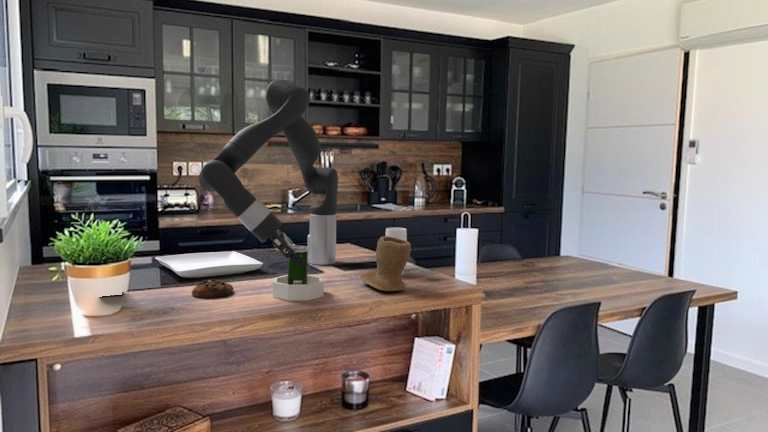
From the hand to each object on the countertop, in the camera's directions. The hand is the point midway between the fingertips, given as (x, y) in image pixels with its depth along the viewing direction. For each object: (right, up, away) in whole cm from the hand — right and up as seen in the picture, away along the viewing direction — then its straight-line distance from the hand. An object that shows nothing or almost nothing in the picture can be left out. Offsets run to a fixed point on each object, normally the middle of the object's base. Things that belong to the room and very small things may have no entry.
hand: (302, 262), depth 156 cm
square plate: (-35, -5, +31) cm, 47 cm away
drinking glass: (+26, -7, +28) cm, 39 cm away
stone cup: (+23, -8, +11) cm, 26 cm away
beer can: (-2, -8, +1) cm, 8 cm away
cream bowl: (-1, -9, +1) cm, 9 cm away
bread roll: (-24, -9, 0) cm, 26 cm away
